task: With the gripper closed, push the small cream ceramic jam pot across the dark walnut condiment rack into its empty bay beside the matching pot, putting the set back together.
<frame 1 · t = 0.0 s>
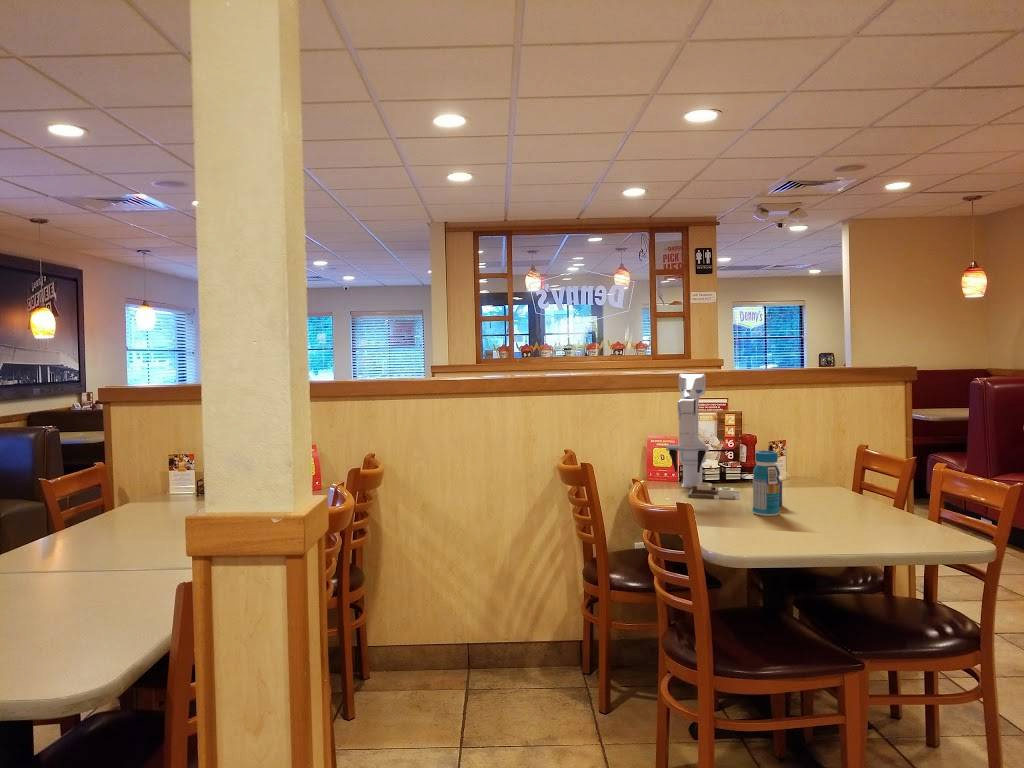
hand: (687, 471, 267), 10 cm above the table, tool pointing down, fingers open, 7 cm apart
beverage bottle: (766, 514, 244), on the table
rack: (712, 495, 276), on the table
flask: (768, 507, 255), on the table
twin pot: (704, 491, 282), resting on rack
pot: (726, 496, 272), resting on rack
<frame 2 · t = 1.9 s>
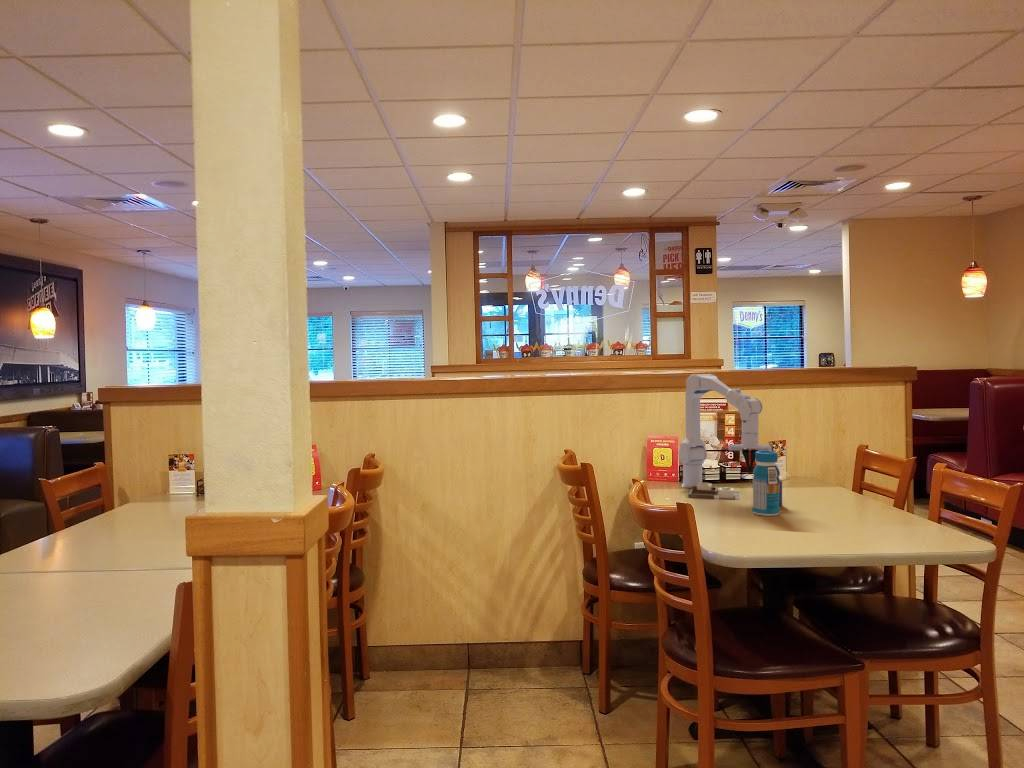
hand: (749, 471, 269), 10 cm above the table, tool pointing down, fingers closed
nothing on the table moved.
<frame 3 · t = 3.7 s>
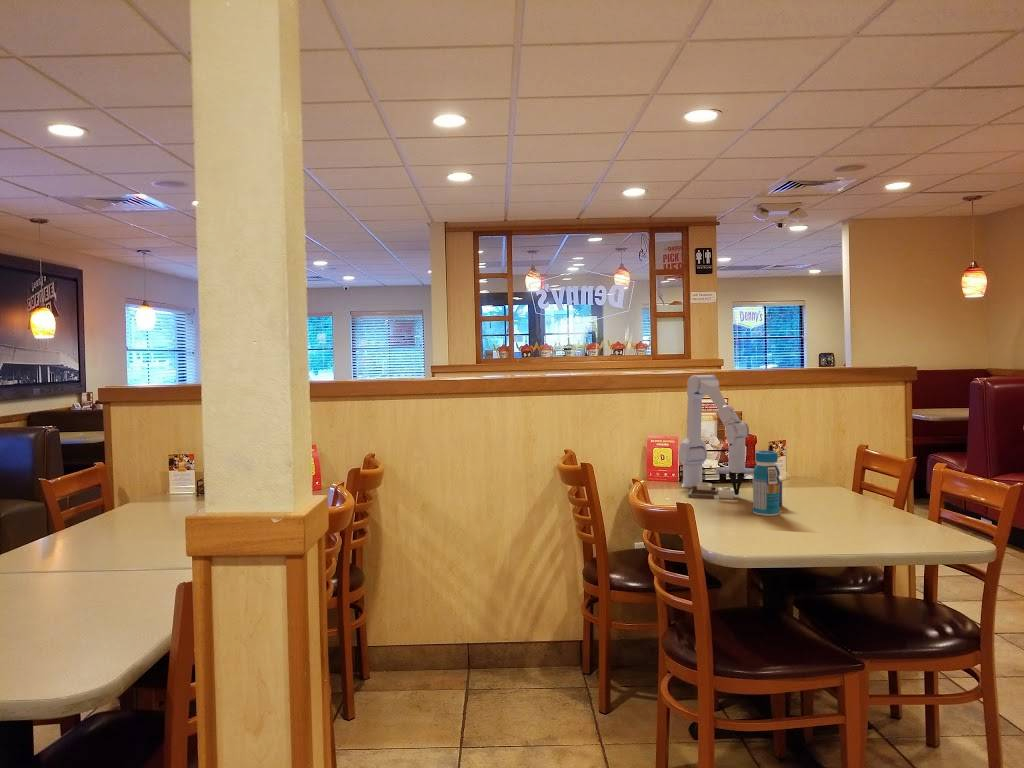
hand: (736, 494, 270), 1 cm above the table, tool pointing down, fingers closed
pot: (726, 496, 272), resting on rack, touching gripper
everything else where it was.
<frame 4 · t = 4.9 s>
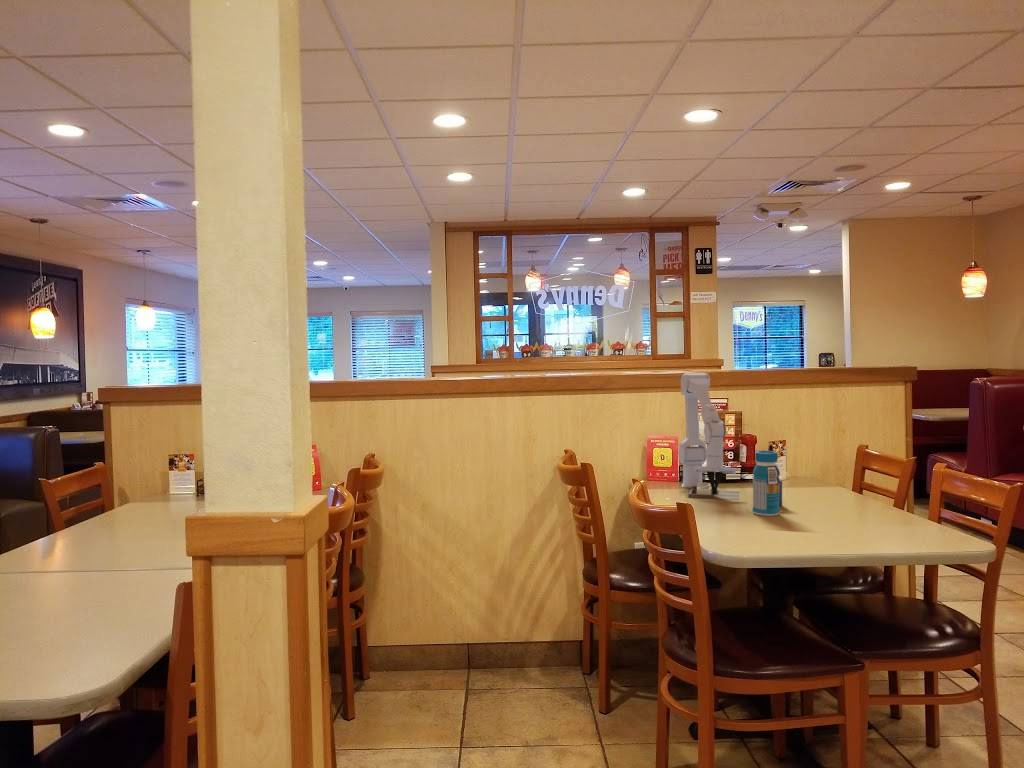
hand: (714, 493, 273), 1 cm above the table, tool pointing down, fingers closed
pot: (704, 495, 274), resting on rack, touching gripper
everything else where it was.
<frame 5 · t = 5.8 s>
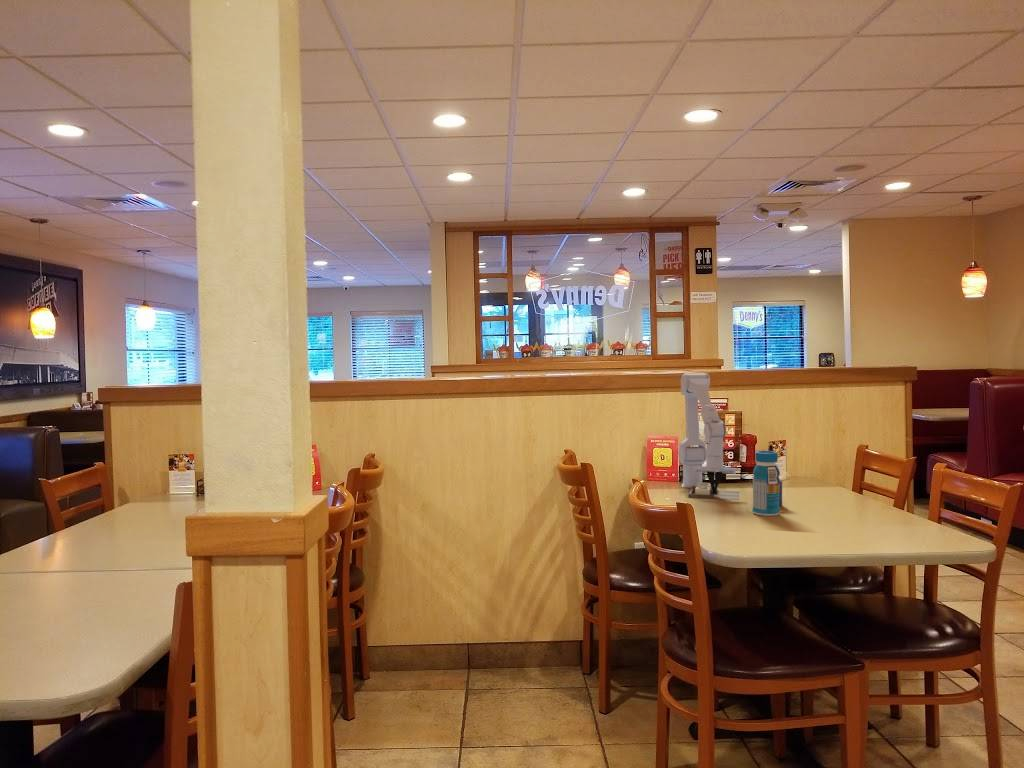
hand: (714, 493, 273), 1 cm above the table, tool pointing down, fingers closed
pot: (702, 495, 274), resting on rack
everything else where it was.
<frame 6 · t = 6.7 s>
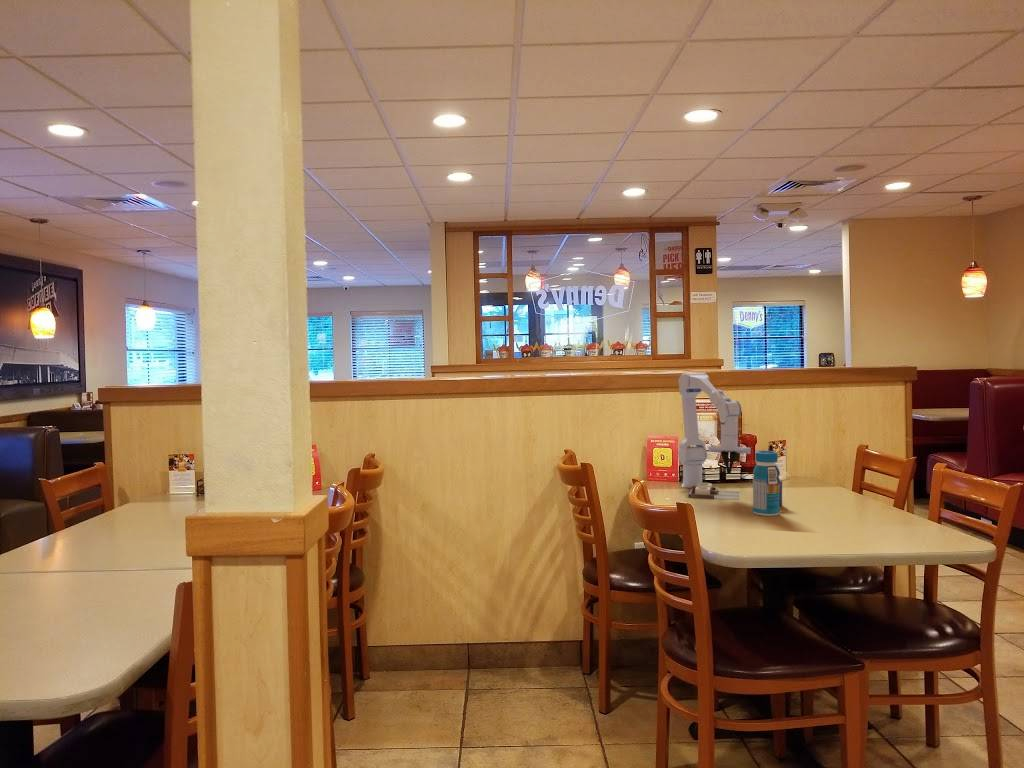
hand: (729, 472, 271), 9 cm above the table, tool pointing down, fingers closed
nothing on the table moved.
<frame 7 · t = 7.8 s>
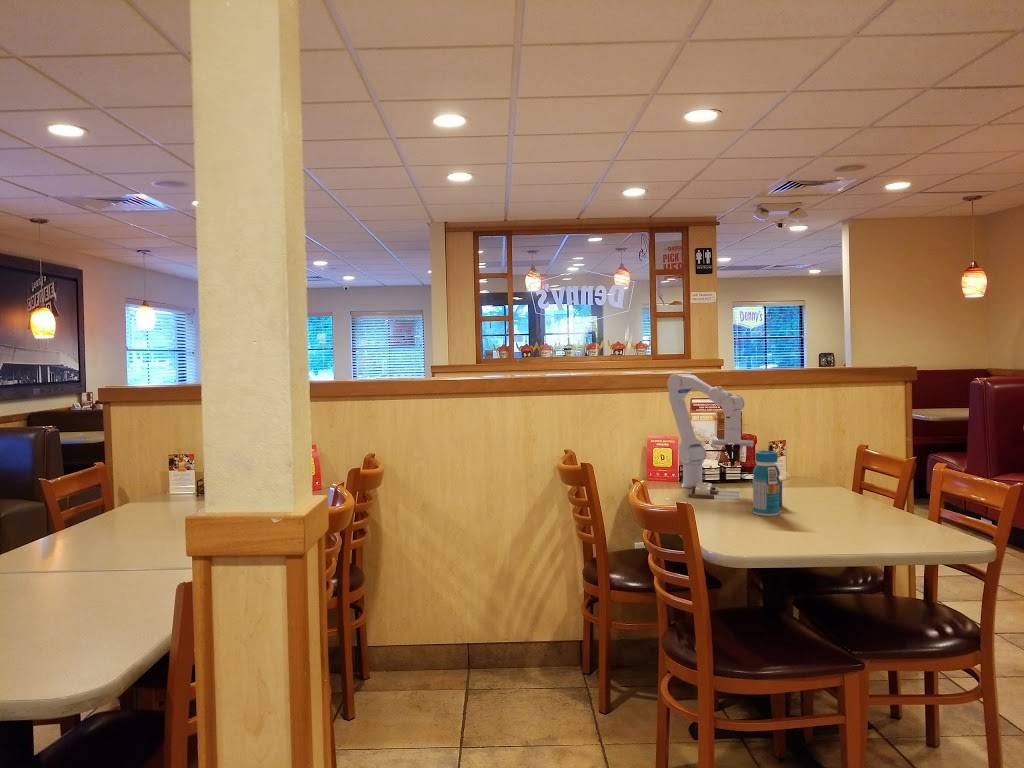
hand: (732, 465, 279), 10 cm above the table, tool pointing down, fingers closed
nothing on the table moved.
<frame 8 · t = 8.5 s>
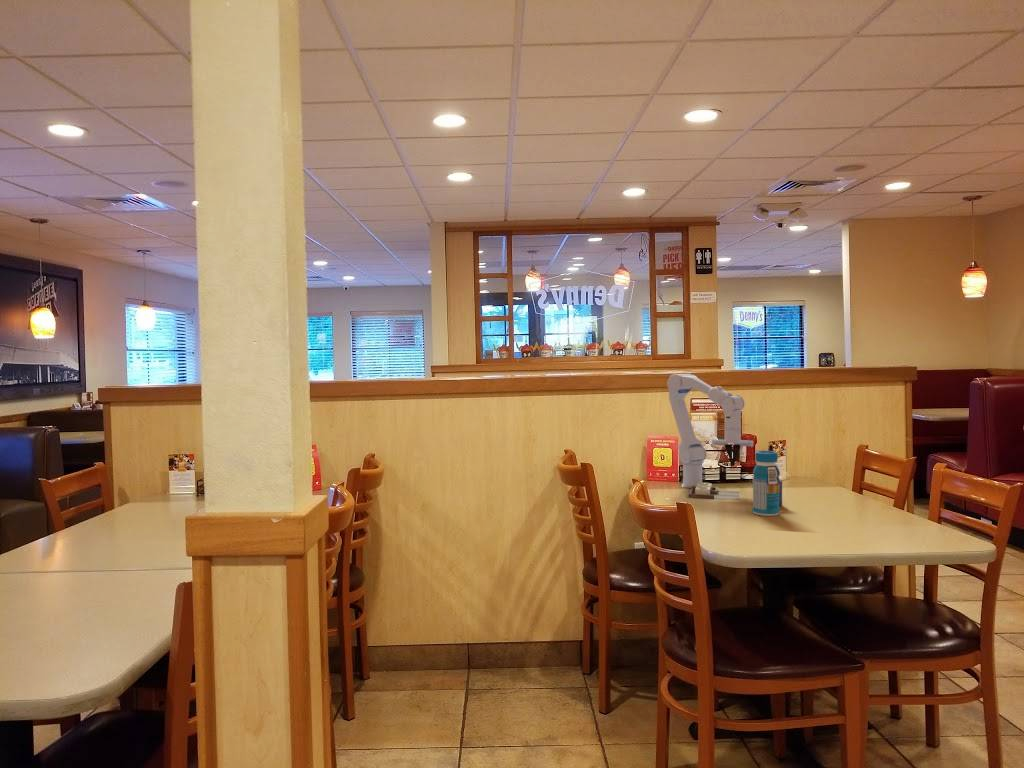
hand: (732, 465, 279), 10 cm above the table, tool pointing down, fingers closed
nothing on the table moved.
at the end: pot inside the target area (0.3 cm from its centre), resting on rack; pot tilted 0°; pot moved 8.1 cm from its start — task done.
